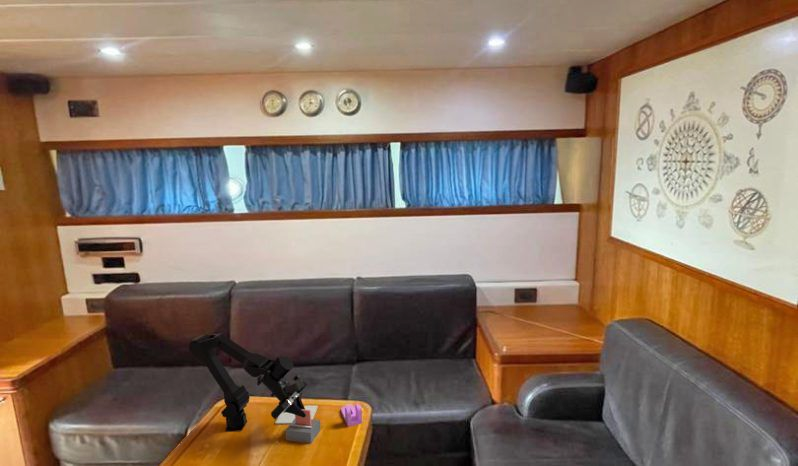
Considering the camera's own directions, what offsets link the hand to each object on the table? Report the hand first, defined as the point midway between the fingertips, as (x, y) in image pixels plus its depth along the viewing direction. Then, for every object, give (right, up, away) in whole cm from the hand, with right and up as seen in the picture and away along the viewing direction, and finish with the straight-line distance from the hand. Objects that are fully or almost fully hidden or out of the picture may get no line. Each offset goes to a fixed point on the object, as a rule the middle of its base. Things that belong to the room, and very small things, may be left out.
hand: (305, 415), depth 164 cm
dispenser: (-1, -8, +2) cm, 8 cm away
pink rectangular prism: (-1, -7, +1) cm, 7 cm away
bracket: (+15, -6, +13) cm, 21 cm away
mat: (-7, -6, +15) cm, 17 cm away
